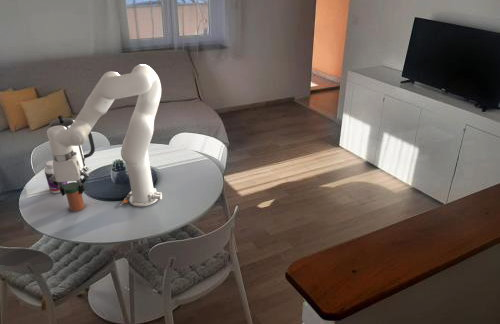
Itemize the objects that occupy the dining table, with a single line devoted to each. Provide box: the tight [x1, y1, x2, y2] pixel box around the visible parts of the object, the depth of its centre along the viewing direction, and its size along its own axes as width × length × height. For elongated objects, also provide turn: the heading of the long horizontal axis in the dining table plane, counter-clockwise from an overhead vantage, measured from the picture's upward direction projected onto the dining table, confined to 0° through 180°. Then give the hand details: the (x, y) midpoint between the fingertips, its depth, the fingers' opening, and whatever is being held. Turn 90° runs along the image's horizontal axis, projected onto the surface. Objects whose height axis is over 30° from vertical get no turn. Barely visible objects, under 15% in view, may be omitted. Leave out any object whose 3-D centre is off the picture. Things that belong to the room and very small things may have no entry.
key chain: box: [118, 190, 132, 207], centre depth 183 cm, size 13×4×2 cm, turn 168°
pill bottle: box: [44, 159, 69, 194], centre depth 190 cm, size 8×8×14 cm
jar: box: [65, 190, 85, 212], centre depth 176 cm, size 6×6×10 cm
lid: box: [63, 181, 79, 194], centre depth 174 cm, size 7×7×2 cm
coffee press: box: [48, 114, 96, 172], centre depth 205 cm, size 17×16×30 cm
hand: (73, 192), depth 175 cm, fingers closed on lid, 6 cm apart
